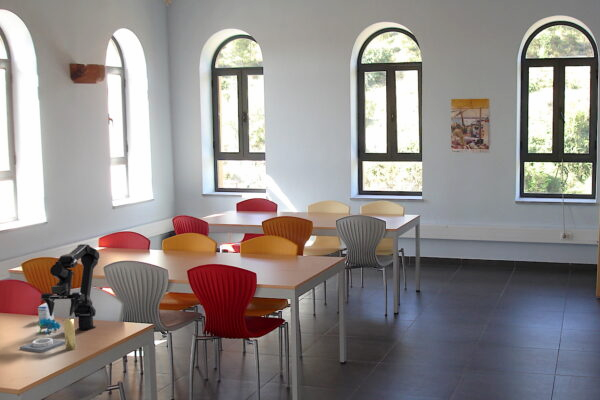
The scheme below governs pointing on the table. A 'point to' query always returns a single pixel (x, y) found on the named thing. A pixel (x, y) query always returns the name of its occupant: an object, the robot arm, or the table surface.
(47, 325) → the gear
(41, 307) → the medicine box
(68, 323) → the brass shaft
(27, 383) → the table surface
